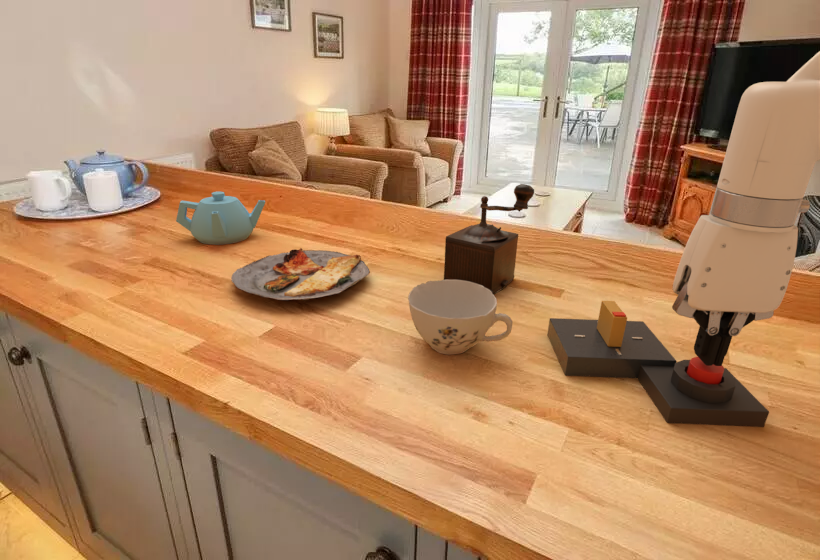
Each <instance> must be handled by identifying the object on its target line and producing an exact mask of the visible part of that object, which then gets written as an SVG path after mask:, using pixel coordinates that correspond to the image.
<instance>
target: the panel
mask: <svg viewBox="0 0 820 560" xmlns="http://www.w3.org/2000/svg"><path fill="white" fill-rule="evenodd" d="M597 324H598V319H582V318H560V317H559V318H557V317H556V318H554V317H549V322H548V328H547V335H546V336H547V339H548V340H549V342H550V344H551V347H552V349H553V352H554V354H555V356H556V359H557V360H558V363H559V365H560V368H561V369H562V373H563V374H564V376H565V377H585V378H586V377H587V378H588V377H589V378H613V379H614V378H615V379H637V380H638V374H639V370H640V366H641V365H656V366H674V365H675V363H676V362H677V359H676V358H675V356H673V354H672V353H671V352H670V351H669V350H668V349H667V347H666V346H665V345H664V344H663V343H662V342H661V340H660V339H659V338H658V337H657V336H656V335H655V333H653V331H652V330H651V329H650V327H648V325H647V324H646V323H645V321H641V320H627V322H626V327H625V331H624V336H623V341H622V345H621V347H609V346H607V344H606V342H605V341H604V339H603V338H602V336H601V334H600V333H599V331H598V330H597Z"/></svg>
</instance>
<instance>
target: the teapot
mask: <svg viewBox="0 0 820 560" xmlns="http://www.w3.org/2000/svg"><path fill="white" fill-rule="evenodd" d="M265 204H266V200H264V199H263V200H262V199H258V201H257V202H256V204H255V206H254V208H253V209H252V211H251V212H249V210H248V209H247V208H246V206H245V205H244V204H243V203H242V201H240V199H239V198H238V197H236V196H231V195H226V194H225V192H224V191H213V192H211V196H208V197H204V198H202V199H200V200H199V202H196V201H188V200H180V202H179V204H178V209H177V214H176V219H175V223H177V224H179V225H180V226H181V227H183V228H185V229H186V230H187V231H189V232H190V234H191V235H192V237H193V238H195V240H197V241H198V242H199V243H202V244H204V245H211V246H212V245H213V246H221V245H231V244H237V243H240V242H243V241H245V240H247V239H248V238H249V237H250V235H251V234H252V233H253V231H254V229H255V228H256V226H257V225H258V222H259V220H260V217H261V214H262V212H263V209H264V207H265V206H266V205H265ZM188 209H191V210H194V211H193V214H192V217H191V218H189V217H188V216H187V215H188Z"/></svg>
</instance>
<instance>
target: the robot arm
mask: <svg viewBox="0 0 820 560" xmlns="http://www.w3.org/2000/svg"><path fill="white" fill-rule="evenodd" d="M737 106H738V107H737V110H736V114H735V118H734V120H733V121H734V122H733V125H732V129H731V133H730V136H729V140H728V144H727V147H726V151H725V155H724V158H723V162H722V166H721V169H720V173H719V177H718V181H717V185H716V188H715V192H714V195H713V199H712V202H711V206H710V210H709V213H708V214H701V215H700V216H699V218H698V220H697V221H696V223H695V225H694V227H693V229H692V231H691V233H690V235H689V237H688V239H687V242H686V244H685V247H684V249H683V252H682V255H681V257H680V260H679V263H678V265H677V269H676V272H675V275H674V278H673V283H672V291H673V293H674V294H676V295H677V297H676V299H675V300H674V302H673V304H672V306H671V309H672V310H673V311H674V312H675V313H676V314H677V315H679V316H681V317H685V318H689V319H694V321H695V322H696V324H697V325H698V326H699V327H698V331H697V334H696V337H695V342H694V344H693V351H694V354H695V355H696V357H699V358H700V359H701V360H702V362H703V363H704V364H705V365H707V366H712V365H713V364H714V365H715V366H723V363H724V360H725V357H726V356H727V354H728V351H729V349H730V345H731V342H732V339H733V337H736V336H738V335H739V334H740V333H741V332H742V329H743V328H745V327H746V326H747V325H749V324H751V323H753V322H754V321H755V322H756V321H762V320H768V319H771V318H772V317H774V314H775V313H774V312H775V311H776V310H777V309H779V307H780V306H781V304H782V302H783V300H784V298H785V295H786V292H787V289H788V286H789V283H790V280H791V276H792V274H793V273H792V271H793V268H794V264H795V259H796V255H797V248H798V238H799V228H798V226H797V225H795V224H796V221H797V218H798V215H799V214H800V213H803V214H805V213H807V212H808V211H809V210H810V208H811V202H810V200H808V199H804V198H805V197H804V196H805V193H806V191H807V188H808V186H809V182H810V180H811V177H812V173H813V171H814V168H815V165H816V163H817V162H819V161H820V50H819V51H818V52H816V53H815V54H814V56H813V57H811V58H810V59H809V60H808V61H807V62H805V63H804V64H803V65H802V66H801V67H800V68H799V69H798V70H797V71H795V73H794V74H793V75H791V76H790V77H789V78H788V79H787V80H786V81H763V82H761V81H760V82H757V83H753V84H752V85H749V86H748V87H747V88H746V89H745V90H744V92H743V93H742V95H741V97H740V100H739V103H738V105H737Z"/></svg>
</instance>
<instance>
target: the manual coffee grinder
mask: <svg viewBox="0 0 820 560" xmlns="http://www.w3.org/2000/svg"><path fill="white" fill-rule="evenodd" d="M534 194H535V189H534V188H533V187H532V186H531V185H530V184H525V183H520V184H517V185H516V186H515V187H514V189H513V195H514V196H515V199H516V200H515V203H514V204H513V206H503V205H502V206H501V205H489V203H488V202H489V198H488V196H486V195H483V196H481V198H480V202H481V203H480V206H479V208H481V215H480V222H479V223H477V224H471V225H469V226H466V227H463V228H462V229H460V230H457V231H455V232H453V233H450V234H448V235H446V236H445V247H444V266H443V267H444V268H443V270H444V271H443V280H463V281H469V282H472V283H476V284H479V285H482V286H484V288H487V289H489V290H490V291H491V292H492V294H493V295H495V294H496V293H498V292H500V291H501V290H503V289H505V288H506V287H507V286H508V285H509V284H510V283H512V282H513V280H514V278H515V268H516V263H517V252H518V251H517V250H518V241H519V233H516V232H512V231H507V230H502V227H497V226H495V225H494V224H493V223H491V224H490V223H487V212H488V211H499V212H500V211H501V212H513V211H518V213H519V212H521V211H523V210H528V209H529V206H528V205H529V202H530V200H531V199H533V197H534Z"/></svg>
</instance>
